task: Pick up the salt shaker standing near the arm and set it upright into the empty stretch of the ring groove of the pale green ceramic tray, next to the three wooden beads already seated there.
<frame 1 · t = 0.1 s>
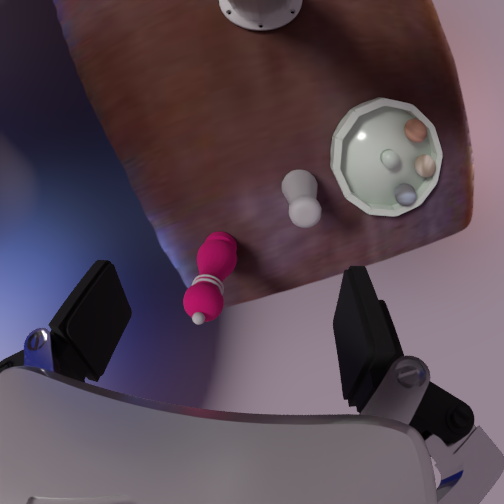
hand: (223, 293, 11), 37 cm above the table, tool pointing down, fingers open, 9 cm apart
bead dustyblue: (404, 183, 41), point 2 cm above the table, tilted 61°, touching tray
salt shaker: (298, 181, 45), on the table
bead terracotta: (411, 139, 36), point 2 cm above the table, tilted 61°, touching tray
tray: (385, 155, 41), on the table
pepper mill: (221, 244, 53), on the table
bead cream: (415, 162, 39), point 1 cm above the table, tilted 40°, touching tray
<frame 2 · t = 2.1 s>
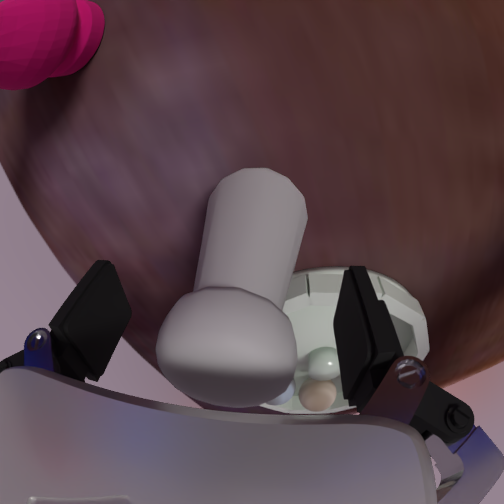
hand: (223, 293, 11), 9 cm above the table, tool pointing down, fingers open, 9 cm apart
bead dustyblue: (284, 375, 27), point 1 cm above the table, tilted 29°, touching tray
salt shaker: (260, 199, 18), on the table
tray: (323, 347, 25), on the table
pepper mill: (74, 37, 12), on the table
bead cream: (315, 383, 27), point 1 cm above the table, tilted 24°, touching tray
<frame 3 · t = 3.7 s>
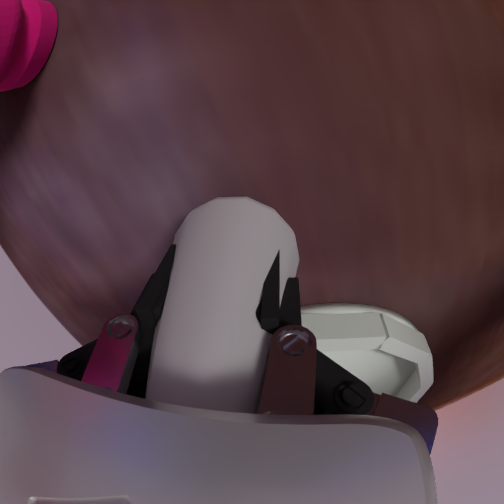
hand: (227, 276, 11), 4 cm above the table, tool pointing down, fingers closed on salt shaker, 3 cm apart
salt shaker: (241, 230, 15), on the table, touching gripper
tray: (317, 381, 22), on the table
pepper mill: (29, 43, 8), on the table
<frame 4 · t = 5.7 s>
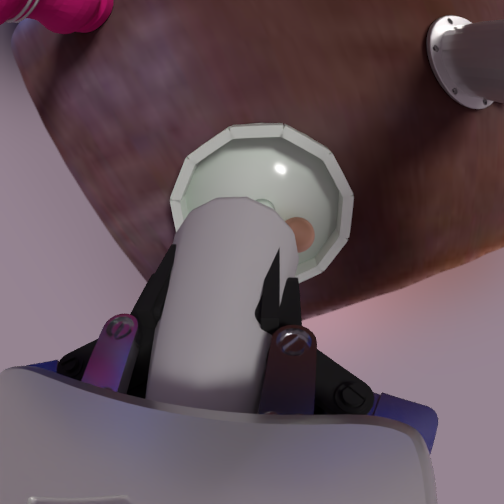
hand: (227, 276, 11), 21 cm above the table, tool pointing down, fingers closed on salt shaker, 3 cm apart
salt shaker: (241, 230, 15), point 17 cm above the table, touching gripper
bead terracotta: (292, 237, 33), point 1 cm above the table, tilted 38°, touching tray
tray: (262, 207, 32), on the table
pepper mill: (94, 12, 19), on the table
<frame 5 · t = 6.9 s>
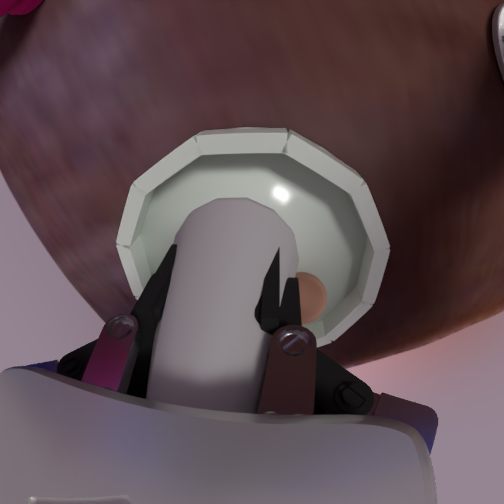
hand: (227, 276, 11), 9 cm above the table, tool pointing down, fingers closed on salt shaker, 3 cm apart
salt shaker: (241, 230, 15), point 5 cm above the table, touching gripper
bead terracotta: (294, 297, 22), point 2 cm above the table, tilted 43°, touching tray
tray: (251, 254, 22), on the table
when the fingers open (6 cm above the table, at t = 7.8 s): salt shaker stays where it is, resting on tray.
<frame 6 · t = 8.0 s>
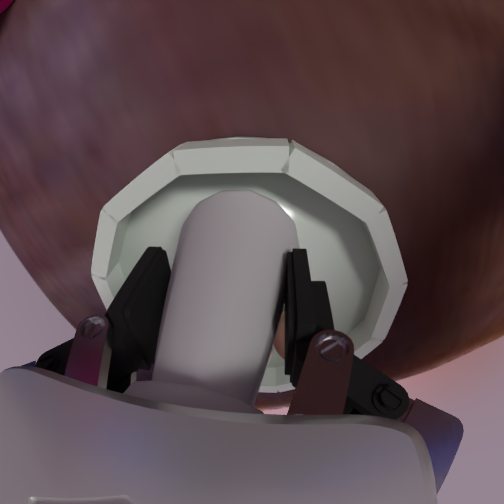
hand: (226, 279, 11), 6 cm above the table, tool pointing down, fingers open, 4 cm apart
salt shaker: (245, 222, 15), point 1 cm above the table, touching tray
bead terracotta: (295, 333, 19), point 2 cm above the table, tilted 47°, touching tray
tray: (245, 284, 19), on the table
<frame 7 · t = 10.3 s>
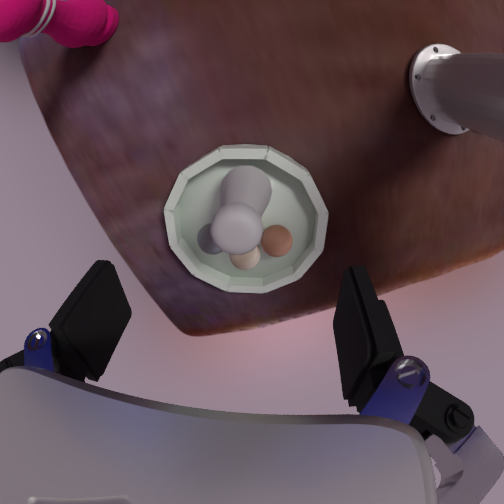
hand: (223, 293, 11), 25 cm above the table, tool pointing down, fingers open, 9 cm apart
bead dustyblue: (218, 246, 36), point 2 cm above the table, tilted 59°, touching tray
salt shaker: (247, 183, 33), point 1 cm above the table, touching tray
bead terracotta: (272, 247, 36), point 2 cm above the table, tilted 57°, touching tray
tray: (246, 219, 36), on the table
pepper mill: (100, 26, 22), on the table
bead cream: (245, 258, 37), point 2 cm above the table, tilted 47°, touching tray
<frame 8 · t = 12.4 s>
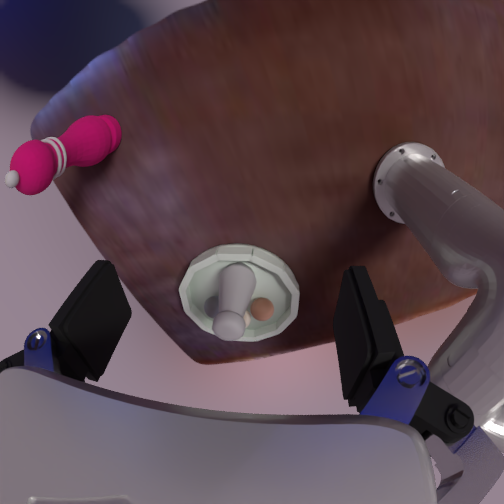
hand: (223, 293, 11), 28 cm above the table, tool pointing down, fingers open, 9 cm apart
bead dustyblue: (219, 311, 48), point 2 cm above the table, tilted 68°, touching tray
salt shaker: (239, 271, 45), point 1 cm above the table, touching tray
bead terracotta: (260, 313, 48), point 2 cm above the table, tilted 67°, touching tray
tray: (240, 292, 48), on the table
pepper mill: (105, 134, 34), on the table
bead cream: (240, 318, 50), point 2 cm above the table, tilted 47°, touching tray
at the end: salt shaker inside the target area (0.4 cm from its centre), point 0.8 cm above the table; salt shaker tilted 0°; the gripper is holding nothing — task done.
